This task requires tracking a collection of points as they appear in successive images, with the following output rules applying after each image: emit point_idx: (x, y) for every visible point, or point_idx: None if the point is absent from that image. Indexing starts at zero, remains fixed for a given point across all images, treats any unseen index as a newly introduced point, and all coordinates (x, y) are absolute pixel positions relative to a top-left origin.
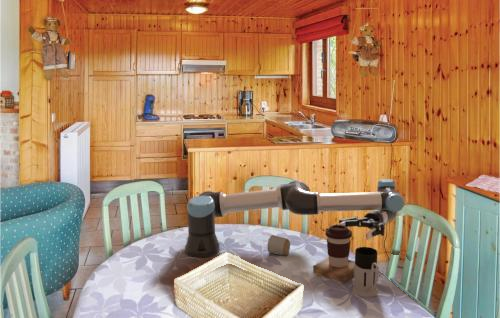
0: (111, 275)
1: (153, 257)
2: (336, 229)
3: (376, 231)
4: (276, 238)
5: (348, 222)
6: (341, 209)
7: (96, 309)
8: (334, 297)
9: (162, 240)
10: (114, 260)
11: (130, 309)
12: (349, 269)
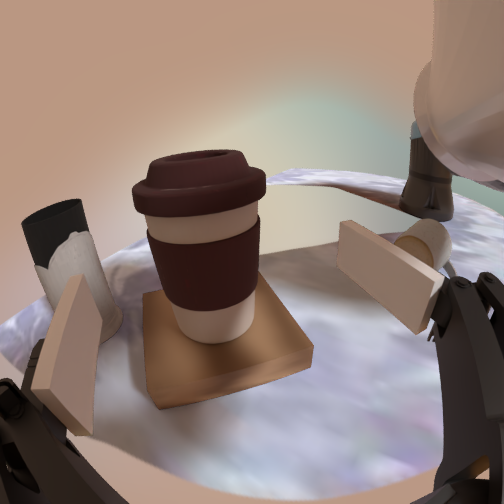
0: (358, 175)
1: (402, 189)
2: (184, 153)
3: (29, 380)
4: (419, 224)
5: (456, 326)
6: (452, 132)
7: (292, 170)
8: (135, 273)
9: (457, 199)
10: (395, 178)
11: (280, 175)
12: (159, 324)
